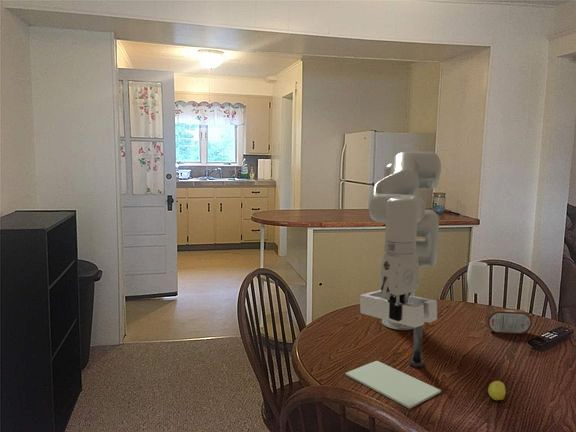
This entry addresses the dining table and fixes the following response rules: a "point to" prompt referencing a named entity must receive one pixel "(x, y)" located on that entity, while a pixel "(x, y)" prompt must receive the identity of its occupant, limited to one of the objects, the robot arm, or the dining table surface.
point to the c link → (411, 312)
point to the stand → (417, 348)
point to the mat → (393, 384)
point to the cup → (477, 276)
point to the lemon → (497, 390)
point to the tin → (508, 321)
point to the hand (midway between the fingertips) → (397, 318)
